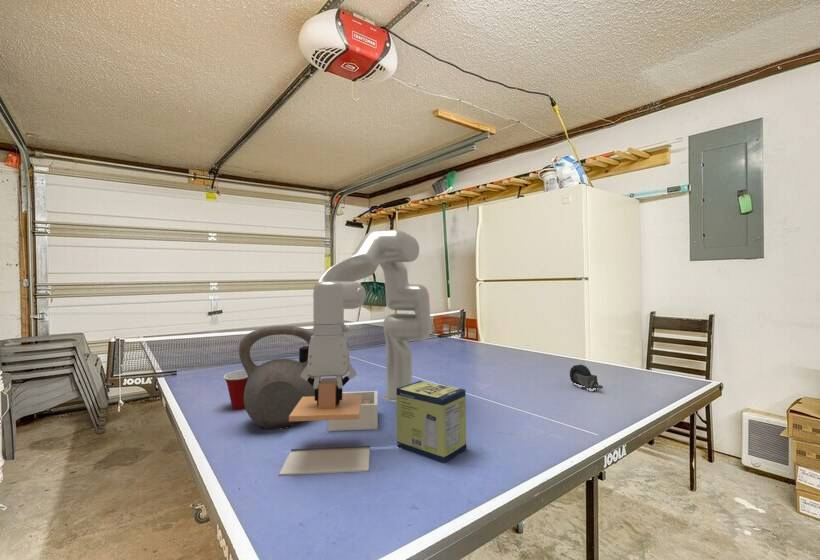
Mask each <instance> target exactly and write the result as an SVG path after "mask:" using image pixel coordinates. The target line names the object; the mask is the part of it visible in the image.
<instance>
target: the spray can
mask: <svg viewBox="0 0 820 560" xmlns="http://www.w3.org/2000/svg"><path fill="white" fill-rule="evenodd" d="M298 352H299V353H298V355H299V356H298V358H299V359H298V362H300V363H304V362H306V361H307V359H308V352H309V345H305V346H301V347H300V348H299V350H298ZM313 378H314V379H315V377H314V376H313Z"/></svg>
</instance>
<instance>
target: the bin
mask: <svg viewBox="0 0 820 560" xmlns="http://www.w3.org/2000/svg"><path fill="white" fill-rule="evenodd" d="M347 395H362V400H370V404H361V409H360V416H359V419H351V420H327V421H328V422H327V423H328V425H327V426H328V428H327V429H328V430H327V431H329V432H333V431H337V432H338V431H359V430H361V431H362V430H363V431H364V430H378V426H379V425H378V421H379V420H378V419H379V418H378V413H379V411H378V409H379V407H378V406H379V405H378V398H379V397H378V390H368V391H367V390H365V391H342V396H347Z"/></svg>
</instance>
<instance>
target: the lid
mask: <svg viewBox="0 0 820 560" xmlns="http://www.w3.org/2000/svg"><path fill="white" fill-rule="evenodd" d="M336 388H337V379H336V376H334V377H321V380H320V383H319V384H318V405H317V401H315V396H309V397H302V398H301V400H300V401H299V402H298V404H297V405H296V407H295V408H294V410H293V411H292V412H291V414H290V415H289V421H300V422H313V421H328V420H351V419H359V416H360V409H361V403H362V395H347V396H342V400H340V402H339V405H337V404H336Z"/></svg>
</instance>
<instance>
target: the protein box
mask: <svg viewBox="0 0 820 560" xmlns="http://www.w3.org/2000/svg"><path fill="white" fill-rule="evenodd" d="M396 389H397V402H396V444H397V445H396V446H397V448H400V449H402V450H406V451H408V452H412V453H414V454H417V455H419V456H423V457H424V458H425V457H426V458H427V459H431V460H434V461H437V462H439V463H442V464H446V462H448V461H450V460H451V459H453V458H455V457H456V456H458V455H459V454H460V453H462V452H464V451H465V450H467V448H468V446H467V445H468V444H467V409H466V408H467V407H466V405H467V404H466V403H467V400H466V395H467V394H466V389H465V388H459V387H456V386H448V385H443V384H439V383H433V382H428V381H424V380H419V381H415V382H412V384H409V385H406V386H403V387H399V388H396Z"/></svg>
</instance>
